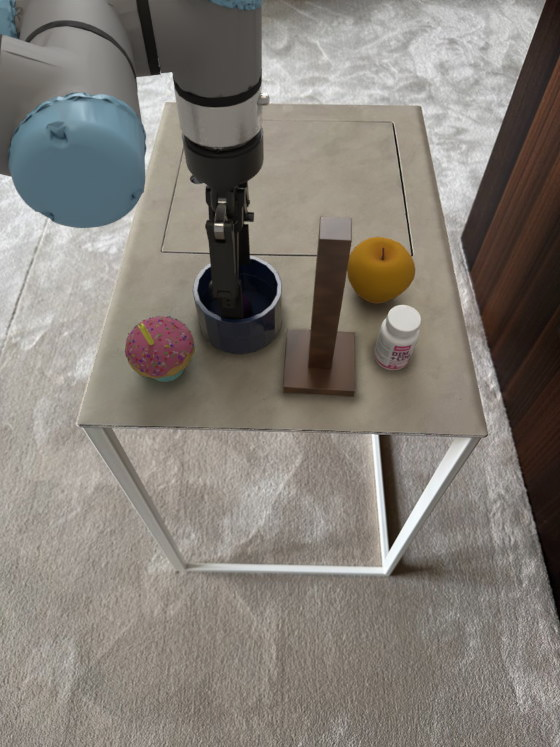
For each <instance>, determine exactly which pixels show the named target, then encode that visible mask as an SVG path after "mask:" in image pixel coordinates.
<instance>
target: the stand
mask: <svg viewBox="0 0 560 747" xmlns="http://www.w3.org/2000/svg"><path fill="white" fill-rule="evenodd" d="M317 236H318V237H317V248H316V260H315V261H316V262H315V272H314V285H313V296H312V305H311V306H312V309H311V319H310V329H302V328H287V329H286V340H285V352H284V353H285V354H284V367H283V379H282V381H283V382H282V393H285V394H299V395H301V394H302V395H316V396H331V397H347V398H349V397H351V398H353V397H355V393H356V332H355V331H338V329H339V325H340V319H341V318H340V317H341V312H342V305H343V298H344V292H345V287H346V279H347V275H348V274H347V268H348V262H349V256H350V254H351V248H352V242H353V241H352V240H353V218H352V217H341V216H340V217H339V216H320V217H319V225H318V235H317Z"/></svg>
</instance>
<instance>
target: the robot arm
mask: <svg viewBox="0 0 560 747" xmlns="http://www.w3.org/2000/svg"><path fill="white" fill-rule="evenodd" d="M263 4H264V0H0V175H1V176H6V177H11V180H12V183H13V186H14V189H15V190H16V192H17V193H18V195H19V197H20V198H21V200H22V201H23V202H24V203H25V204H26V205H27V206H28V207H29V208H30V209H32V210H33V211H34V212H35V213H39V214H41V215H42V216H44V217H46V218H48V219H49V220H50V221H51V222H52V223H55V224H57V225H60V226H64V227H67V228H75V229H93V228H101V227H105V226H108V225H111V224H113V223H116V222H118V221H120V220H121V219H122V218H124V217H126V216H127V215H129V213H130V212H132V211H133V209H134V208H135V207H136V206H137V205H138V203H139V201H140V199H141V197H142V195H143V194H144V192H145V185H146V154H147V143H146V142H147V132H146V129H145V126H144V124H143V120H142V114H141V107H140V99H139V94H138V93H139V92H138V91H139V90H138V83H137V81H138V80H137V78H144V77H152V76H161V74H168V73H172V82H173V89H174V96H175V104H176V110H177V116H178V124H179V129H180V130H181V140H182V146H183V151H184V152H183V153H184V158H185V164H186V168H187V170H188V171H189V173H190V174H191V175H192V176H193V177H194V178H195V179H197V180H198V181H200V182H201V183H202V184H205V192H204V195H205V203H206V205H207V207H208V210H207V211H208V219H206V222H205V225H204V229H205V231H206V236H207V241H208V250H209V252H208V253H209V261H210V262H209V263H210V264H211V275H212V281H211V282H210V284H209V288H213V290H212V294H213V297H214V298H218V299H219V307H220V315H221V317H223V318H228V319H243V301H242V287H241V280H239V265H248V266H250V256H251V249H250V248H251V246H250V226H249V223H254V221H255V211H249V210H248V208H250V205H251V200H250V194H249V181H250V180H251V179H253V178H254V177H256V176H257V175H258V174H259V172H260V170H261V169H262V167H263V164H264V161H265V160H264V159H265V157H264V156H265V155H264V152H265V151H264V150H265V149H264V128H263V122H264V121H263V120H264V119H263V107H266V106H268V105H269V104H270V101H271V100H270V99H271V97H270V96H269V94H268V93H265V92H262V90H263V59H262V58H263V50H262V49H263V37H262V36H263V30H262V29H263V28H262V27H263V25H262V24H263V22H262V21H263V17H262V16H263V15H262V14H263V13H262V12H263V10H262V8H263V7H262V5H263Z"/></svg>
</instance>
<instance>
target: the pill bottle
mask: <svg viewBox="0 0 560 747" xmlns="http://www.w3.org/2000/svg"><path fill="white" fill-rule="evenodd" d="M421 324H422V316H421V315H420V312H419V311H418V310H417V309H416V308H414V307H413V306H410V305H408V304H407V305H406V304H398V305H395V306H393V307H392V308H391V309H390V310H389V311H388V313H387V315H386V317H385V319H383V321H382V323H381V325H380V329H379V333H378V336H377V339H376V343H375V347H374V351H373V356H374V357H373V358H374V359H375V362H376V363H377V365H379V366H380V367H381V368H383V369H385V370H388V371H399V370H401V369H403V368H405V367H406V366H407V365H408V364H409V362H410V360H411V358H412V354H413V353H414V350H415V347H416V345H417V342H418V340H419V337H420V331H421V330H420V326H421Z"/></svg>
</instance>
